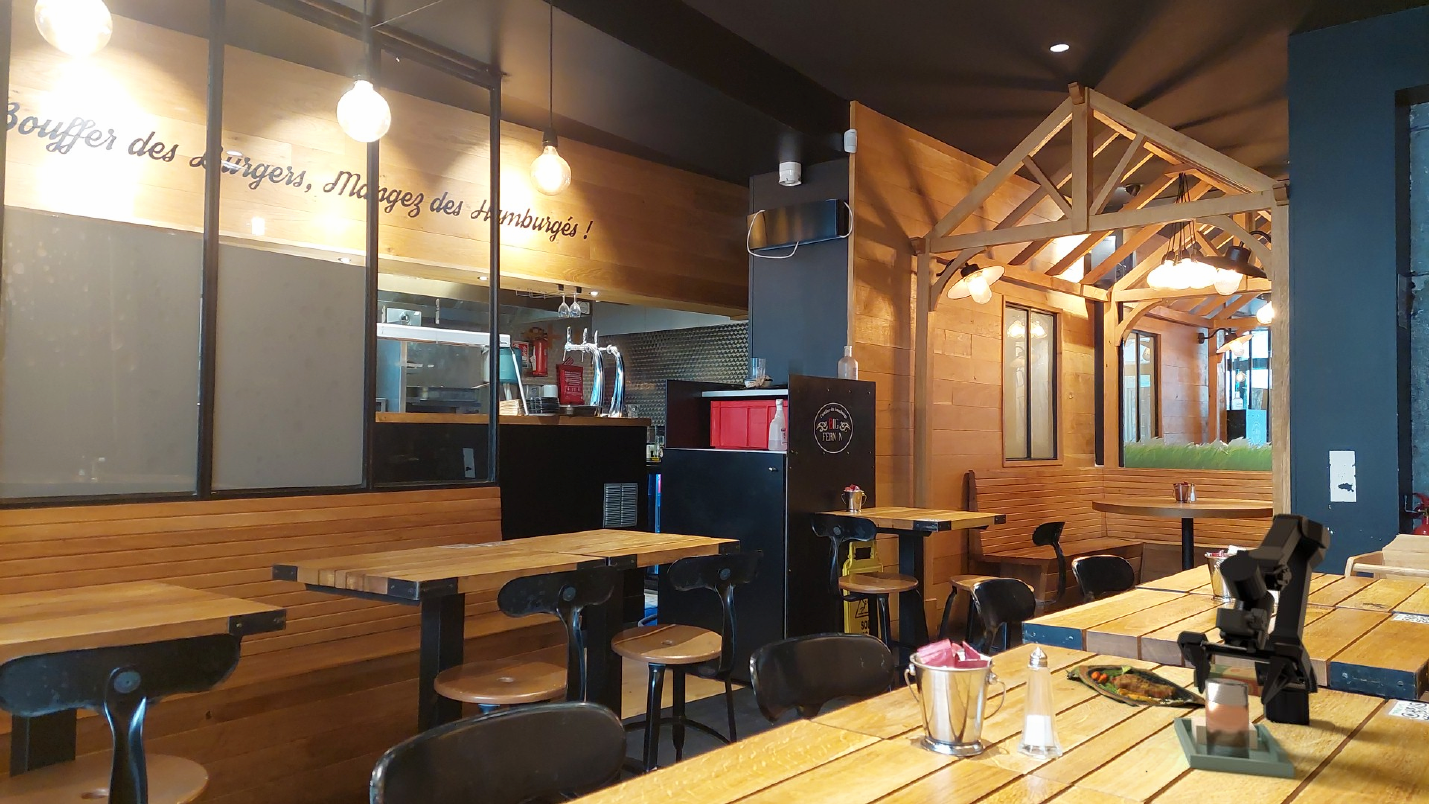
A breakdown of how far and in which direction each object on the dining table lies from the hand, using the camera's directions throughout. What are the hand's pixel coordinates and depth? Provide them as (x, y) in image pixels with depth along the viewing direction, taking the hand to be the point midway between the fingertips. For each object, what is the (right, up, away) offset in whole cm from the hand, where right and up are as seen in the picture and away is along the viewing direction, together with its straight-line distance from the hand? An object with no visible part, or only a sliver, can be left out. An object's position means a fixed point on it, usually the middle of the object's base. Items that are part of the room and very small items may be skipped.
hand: (1230, 697), depth 153 cm
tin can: (-1, -9, -2) cm, 9 cm away
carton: (+26, -12, +44) cm, 52 cm away
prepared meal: (+4, -13, +43) cm, 45 cm away
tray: (+1, -10, +2) cm, 10 cm away
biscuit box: (+3, -10, +8) cm, 13 cm away
